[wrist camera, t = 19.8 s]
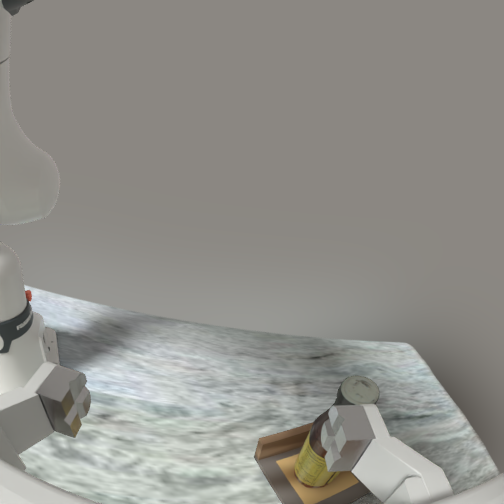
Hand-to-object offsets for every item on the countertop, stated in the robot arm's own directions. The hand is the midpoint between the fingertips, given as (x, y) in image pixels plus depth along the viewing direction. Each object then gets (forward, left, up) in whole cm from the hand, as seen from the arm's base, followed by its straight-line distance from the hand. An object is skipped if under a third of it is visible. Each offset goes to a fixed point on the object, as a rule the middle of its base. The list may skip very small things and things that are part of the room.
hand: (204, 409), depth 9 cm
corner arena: (-9, +21, -32) cm, 39 cm away
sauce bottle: (-9, +20, -31) cm, 38 cm away
